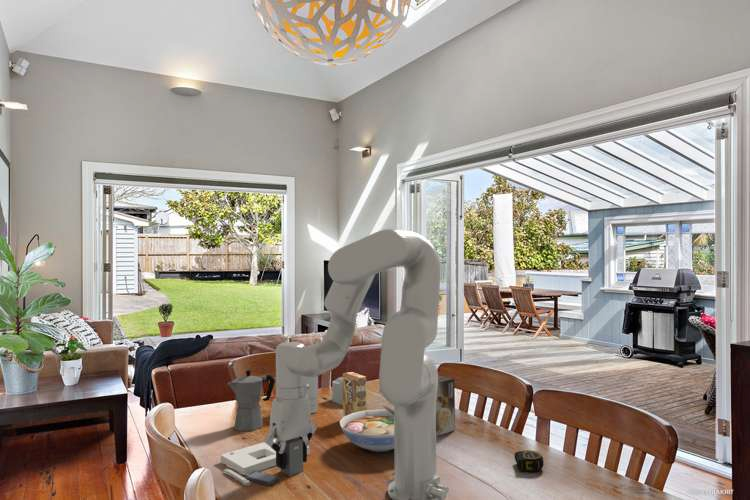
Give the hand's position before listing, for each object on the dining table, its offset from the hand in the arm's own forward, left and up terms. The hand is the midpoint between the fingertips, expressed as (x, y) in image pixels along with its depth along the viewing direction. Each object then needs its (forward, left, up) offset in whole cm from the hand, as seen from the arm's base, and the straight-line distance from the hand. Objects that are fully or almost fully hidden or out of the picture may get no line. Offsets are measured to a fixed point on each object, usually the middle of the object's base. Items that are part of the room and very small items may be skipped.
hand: (291, 463), depth 131 cm
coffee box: (-7, -49, -2) cm, 50 cm away
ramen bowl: (-4, -27, -2) cm, 27 cm away
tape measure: (-41, -43, -2) cm, 59 cm away
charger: (0, 0, -2) cm, 2 cm away
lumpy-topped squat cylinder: (+37, -52, -2) cm, 64 cm away
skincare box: (+39, -33, -2) cm, 51 cm away
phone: (+1, +8, -2) cm, 8 cm away
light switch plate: (+12, 0, -2) cm, 12 cm away
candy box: (+18, -37, -2) cm, 41 cm away
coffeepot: (+38, -11, -2) cm, 40 cm away
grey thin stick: (+6, +12, -2) cm, 14 cm away
